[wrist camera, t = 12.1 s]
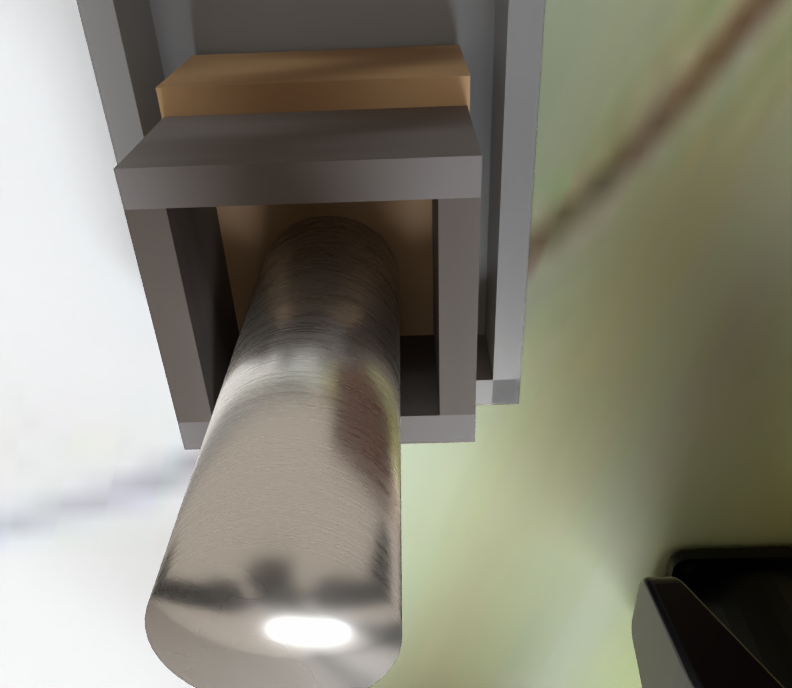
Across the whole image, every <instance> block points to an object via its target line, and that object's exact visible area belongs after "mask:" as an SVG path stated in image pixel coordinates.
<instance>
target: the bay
mask: <svg viewBox="0 0 792 688" xmlns="http://www.w3.org/2000/svg"><path fill="white" fill-rule="evenodd" d="M76 1H77V5H78V9H79V13H80V17H81V21H82V25H83V29H84V33H85V37H86V41H87V45H88V49H89V53H90V57H91V61H92V65H93V69H94V73H95V77H96V81H97V85H98V89H99V93H100V97H101V101H102V105H103V109H104V113H105V117H106V121H107V125H108V129H109V133H110V137H111V141H112V145H113V149H114V153H115V157H116V161H117V165H118V164H119V163H120V162H121V161H122V160H123V159H124V158H125V157H126V156H127V155H128V154H129V153H130V152H131V150H132V149H133V148H134V147H135V146H136V145H137V144H138V143H139V142H140V141H141V140H142V139H143V138H144V137H145V136H146V135H147V134H148V133H149V132H150V131H151V130H152V129H153V128H154V127H155V126H156V125H157V124H158V123H159V122H160V121H161V119H162V117H161V112H160V107H159V102H158V97H157V93H156V87H157V86H158V85H159V84H160V83H162V82H163V81H164V80H165V79H166V78H167V77H168V76H170V75H171V74H172V73H173V72H174V71H175V70H176V69H178V68H179V67H180V66H181V65H182V64H183V63H184V62H185V61H187V60H188V59H189V58H190V57H191V56H192V55H209V54H235V53H260V52H285V51H311V50H336V49H361V48H387V47H412V46H437V45H460V48H461V51H462V54H463V57H464V59H465V62H466V65H467V68H468V71H469V73H470V116H471V120H472V123H473V127H474V130H475V133H476V137H477V140H478V143H479V147H480V150H481V154H482V179H481V217H480V255H479V294H478V332H477V370H476V405H498V404H519V392H520V377H521V361H522V346H523V331H524V316H525V301H526V285H527V270H528V255H529V240H530V225H531V210H532V194H533V179H534V164H535V149H536V134H537V119H538V103H539V88H540V73H541V58H542V43H543V28H544V12H545V0H76Z"/></svg>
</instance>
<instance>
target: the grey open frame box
mask: <svg viewBox="0 0 792 688" xmlns="http://www.w3.org/2000/svg"><path fill="white" fill-rule="evenodd" d="M156 93H157V97H158V102H159V107H160V112H161V117H162V119H161V121H160V122H159V123H158V124H157V125H156V126H155V127H154V128H153V129H152V130H151V131H150V132H149V133H148V134H147V135H146V136H145V137H144V138H143V139H142V140H141V141H140V142H139V143H138V144H137V145H136V146H135V147H134V148H133V149H132V150H131V152H130V153H129V154H128V155H127V156H126V157H125V158H124V159H123V160H122V161H121V162H120V163H119V164H118V165H117V166H116V167H115V168H114V172H115V176H116V180H117V184H118V188H119V192H120V196H121V200H122V204H123V208H124V212H125V215H126V219H127V223H128V227H129V231H130V235H131V239H132V243H133V247H134V251H135V255H136V259H137V263H138V267H139V271H140V275H141V279H142V283H143V287H144V291H145V294H146V298H147V302H148V306H149V310H150V314H151V318H152V322H153V326H154V330H155V334H156V338H157V342H158V346H159V350H160V354H161V358H162V362H163V366H164V369H165V373H166V377H167V381H168V385H169V389H170V393H171V397H172V401H173V405H174V409H175V413H176V417H177V421H178V425H179V429H180V433H181V437H182V441H183V445H184V448H185V450H188V449H201V446H202V443H203V440H204V437H205V435H206V432H207V429H208V426H209V423H210V420H211V417H212V414H213V411H214V408H215V405H216V402H217V399H218V396H219V393H220V390H221V387H222V385H223V382H224V379H225V376H226V373H227V370H228V367H229V364H230V361H231V358H232V355H233V352H234V349H235V346H236V343H237V340H238V337H239V335H240V332H241V329H242V326H243V323H244V320H245V317H246V314H247V311H248V308H249V305H250V302H251V299H252V296H253V293H254V290H255V287H256V285H257V282H258V279H259V276H260V273H261V270H262V267H263V264H264V261H265V258H266V255H267V253H268V250H269V248H270V247H271V245H272V243H273V242H274V241H275V239H276V238H277V237H278V236H279V235H280V234H281V233H282V232H283V231H284V230H286V229H287V228H288V227H290V226H291V225H293V224H295V223H297V222H299V221H302V220H304V219H307V218H312V217H316V216H339V217H345V218H349V219H352V220H355V221H358V222H360V223H362V224H364V225H366V226H368V227H369V228H371V229H372V230H373V231H375V232H376V233H377V234H378V235H379V236H381V237H382V238H383V239H384V241H385V242H386V243H387V244H388V246H389V247H390V249H391V251H392V252H393V254H394V256H395V259H396V261H397V265H398V269H399V292H400V432H401V444H410V443H447V442H475V408H476V370H477V332H478V294H479V255H480V217H481V179H482V154H481V150H480V147H479V143H478V140H477V137H476V133H475V130H474V127H473V123H472V120H471V116H470V73H469V71H468V68H467V65H466V62H465V59H464V57H463V54H462V51H461V48H460V45H437V46H412V47H387V48H361V49H336V50H311V51H285V52H260V53H235V54H209V55H192V56H191V57H190V58H189V59H188V60H187V61H185V62H184V63H183V64H182V65H181V66H180V67H179V68H178V69H176V70H175V71H174V72H173V73H172V74H171V75H170V76H168V77H167V78H166V79H165V80H164V81H163V82H162V83H160V84H159V85H158V86H157V87H156Z"/></svg>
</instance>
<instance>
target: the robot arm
mask: <svg viewBox="0 0 792 688" xmlns="http://www.w3.org/2000/svg"><path fill="white" fill-rule="evenodd" d="M632 638H633V643H634V648H635V653H636V658H637V663H638V668H639V673H640V678H641V683H642V688H792V548H759V549H716V550H684V551H679V552H677V553H675V554H674V555H673V556H672V557H671V558H670V561H669V565H668V569H667V573H666V577H647V578H644V579H643V580H642V581H641V583H640V586H639V590H638V595H637V599H636V604H635V608H634V613H633V618H632Z"/></svg>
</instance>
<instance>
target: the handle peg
mask: <svg viewBox="0 0 792 688" xmlns="http://www.w3.org/2000/svg"><path fill="white" fill-rule="evenodd" d="M145 629H146V633H147V637H148V640H149V642H150V645H151V647H152V649H153V650H154V652H155V653H156V655H157V656H158V658H159V659H160V660H161V661H162V662H163V664H164V665H165V666H166V667H167V668H168V669H169V670H171V671H172V672H173V673H174V674H175V675H176V676H178V677H179V678H181V679H182V680H184V681H185V682H187V683H188V684H190V685H192V686H193V687H195V688H369V687H370V686H372V685H373V684H374V683H376V682H377V681H379V680H380V679H381V678H382V677H383V676H384V675H385V674H386V673H387V672H388V671H389V669H390V668H391V666H392V665H393V664H394V662H395V660H396V658H397V656H398V654H399V651H400V647H401V641H402V573H401V432H400V292H399V269H398V265H397V261H396V259H395V256H394V254H393V252H392V251H391V249H390V247H389V246H388V244H387V243H386V242H385V241H384V239H383V238H382V237H381V236H379V235H378V234H377V233H376V232H375V231H373V230H372V229H371V228H369V227H368V226H366V225H364V224H362V223H360V222H358V221H355V220H352V219H349V218H345V217H339V216H316V217H312V218H307V219H304V220H302V221H299V222H297V223H295V224H293V225H291V226H290V227H288V228H287V229H286V230H284V231H283V232H282V233H281V234H280V235H279V236H278V237H277V238H276V239H275V241H274V242H273V243H272V245H271V247H270V248H269V250H268V253H267V255H266V258H265V261H264V264H263V267H262V270H261V273H260V276H259V279H258V282H257V285H256V287H255V290H254V293H253V296H252V299H251V302H250V305H249V308H248V311H247V314H246V317H245V320H244V323H243V326H242V329H241V332H240V335H239V337H238V340H237V343H236V346H235V349H234V352H233V355H232V358H231V361H230V364H229V367H228V370H227V373H226V376H225V379H224V382H223V385H222V387H221V390H220V393H219V396H218V399H217V402H216V405H215V408H214V411H213V414H212V417H211V420H210V423H209V426H208V429H207V432H206V435H205V437H204V440H203V443H202V446H201V449H200V452H199V455H198V458H197V461H196V464H195V467H194V470H193V473H192V476H191V479H190V482H189V485H188V487H187V490H186V493H185V496H184V499H183V502H182V505H181V508H180V511H179V514H178V517H177V520H176V523H175V526H174V529H173V532H172V535H171V538H170V540H169V543H168V546H167V549H166V552H165V555H164V558H163V561H162V564H161V567H160V570H159V573H158V576H157V579H156V582H155V585H154V588H153V590H152V593H151V596H150V599H149V602H148V605H147V609H146V615H145Z"/></svg>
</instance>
